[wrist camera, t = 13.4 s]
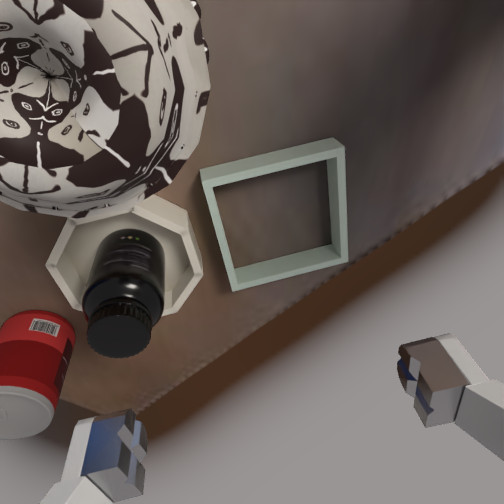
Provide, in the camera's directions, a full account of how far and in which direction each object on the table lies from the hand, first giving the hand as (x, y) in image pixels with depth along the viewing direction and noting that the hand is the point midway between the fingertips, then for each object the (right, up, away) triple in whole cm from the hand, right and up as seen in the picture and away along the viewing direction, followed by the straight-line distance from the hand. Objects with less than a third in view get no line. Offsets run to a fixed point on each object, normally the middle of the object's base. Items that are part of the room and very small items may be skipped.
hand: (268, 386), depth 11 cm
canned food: (-25, -5, +32) cm, 41 cm away
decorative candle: (-10, +21, +18) cm, 29 cm away
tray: (+2, +8, +29) cm, 30 cm away
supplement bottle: (-13, +4, +27) cm, 31 cm away
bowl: (-13, +4, +28) cm, 31 cm away
